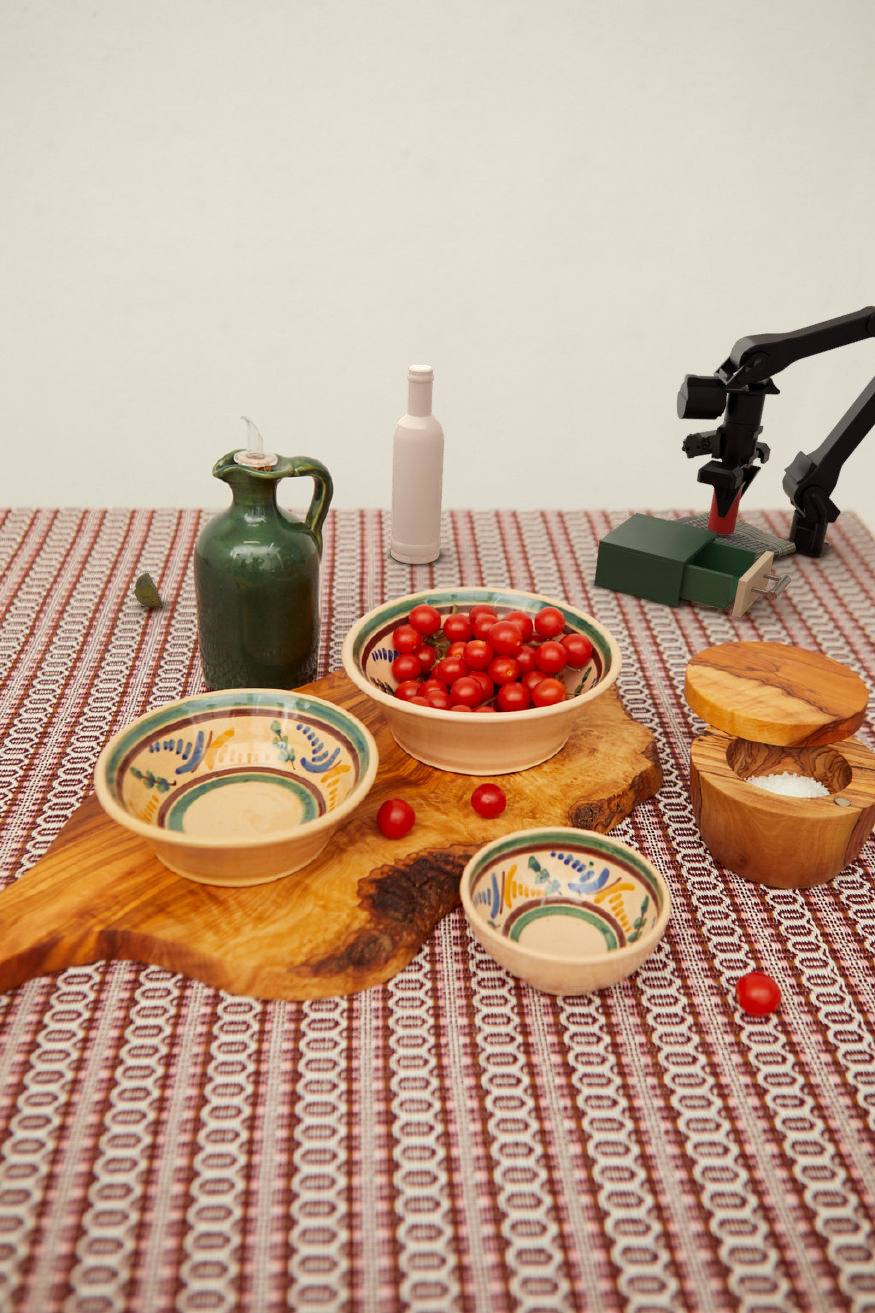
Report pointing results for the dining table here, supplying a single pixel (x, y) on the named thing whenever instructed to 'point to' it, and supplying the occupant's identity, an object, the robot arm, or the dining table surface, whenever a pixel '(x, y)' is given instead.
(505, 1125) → the dining table surface
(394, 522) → the bottle
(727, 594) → the drawer
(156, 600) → the lime
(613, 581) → the dark green box
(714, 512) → the sauce bottle
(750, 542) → the dish towel
